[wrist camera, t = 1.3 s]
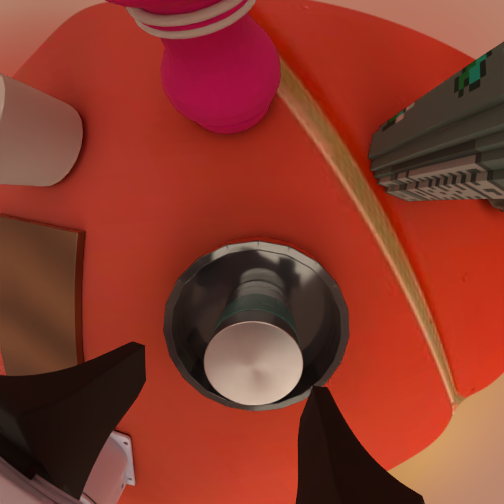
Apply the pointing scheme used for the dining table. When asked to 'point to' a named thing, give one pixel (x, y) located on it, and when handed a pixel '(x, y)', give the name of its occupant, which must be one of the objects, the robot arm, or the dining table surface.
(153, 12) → the pepper mill
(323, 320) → the pan
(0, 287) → the board
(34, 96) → the can
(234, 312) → the tin can
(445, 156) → the can
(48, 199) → the dining table surface
